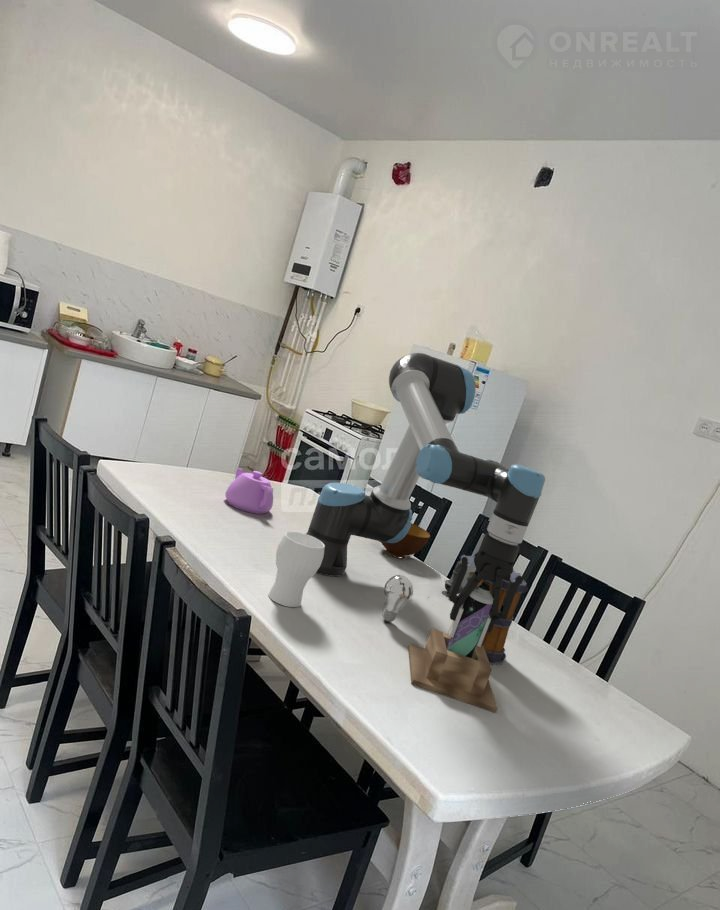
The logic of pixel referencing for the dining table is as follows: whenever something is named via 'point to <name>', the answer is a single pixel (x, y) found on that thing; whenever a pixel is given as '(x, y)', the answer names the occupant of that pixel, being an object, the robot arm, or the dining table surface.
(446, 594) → the dark grey chess piece
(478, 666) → the socket block
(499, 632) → the mug
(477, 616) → the spray can
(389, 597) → the light bulb
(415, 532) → the bowl
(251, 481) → the teapot
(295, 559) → the cup
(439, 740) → the dining table surface
